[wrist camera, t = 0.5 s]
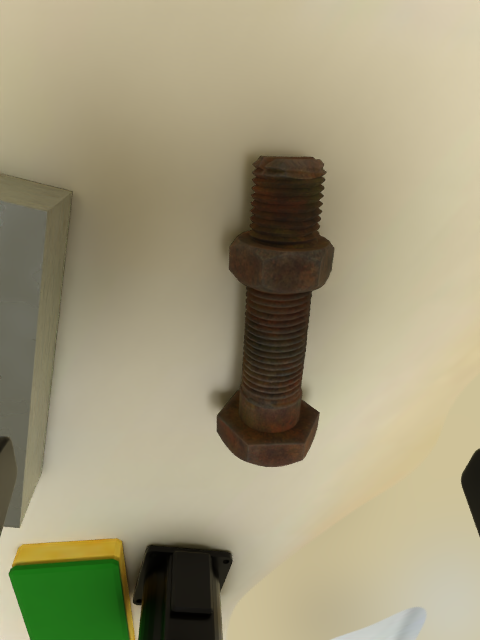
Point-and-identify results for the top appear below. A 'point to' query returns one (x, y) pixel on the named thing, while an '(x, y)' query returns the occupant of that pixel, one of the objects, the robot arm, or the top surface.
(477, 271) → the top surface
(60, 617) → the dish sponge
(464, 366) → the top surface
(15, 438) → the hole plate
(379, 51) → the top surface
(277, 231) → the bolt
